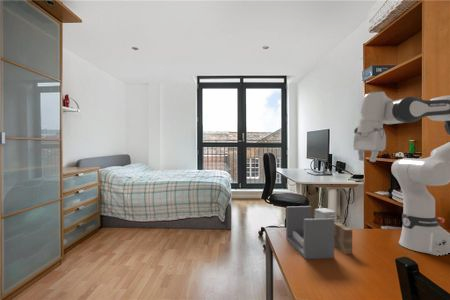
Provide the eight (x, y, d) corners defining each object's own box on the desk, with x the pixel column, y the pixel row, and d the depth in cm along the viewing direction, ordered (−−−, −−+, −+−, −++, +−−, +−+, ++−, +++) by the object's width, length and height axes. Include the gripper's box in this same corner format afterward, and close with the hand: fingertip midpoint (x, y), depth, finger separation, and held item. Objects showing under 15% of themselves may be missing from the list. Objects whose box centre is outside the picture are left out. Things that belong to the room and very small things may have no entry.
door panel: (330, 242, 114) (330, 221, 114) (336, 242, 114) (336, 221, 114) (345, 254, 102) (345, 230, 102) (352, 253, 102) (352, 229, 102)
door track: (286, 238, 119) (286, 206, 119) (310, 237, 120) (310, 205, 120) (305, 259, 97) (305, 219, 97) (334, 257, 98) (334, 219, 98)
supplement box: (313, 233, 126) (313, 208, 126) (325, 231, 129) (325, 207, 129) (323, 238, 119) (323, 212, 119) (336, 236, 122) (336, 211, 122)
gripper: (392, 127, 96) (388, 163, 96) (366, 131, 116) (362, 160, 116) (375, 126, 96) (371, 161, 96) (352, 130, 116) (348, 159, 117)
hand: (366, 161), depth 106 cm, fingers open, 8 cm apart
